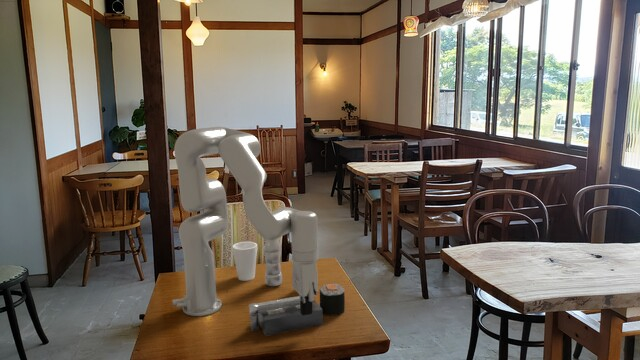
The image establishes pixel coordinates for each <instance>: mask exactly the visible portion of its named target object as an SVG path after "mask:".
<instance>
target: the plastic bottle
mask: <svg viewBox="0 0 640 360" xmlns="http://www.w3.org/2000/svg"><path fill="white" fill-rule="evenodd" d="M263 251H264V252H263V253H264V257H265V258H264V259H265V275H264V281H265V284H266V285H267V286H269V287H277V286H280V285H281V284H282V282H283V273H282V268H281V253H282V245H281V243H280V242H279V240H278V238H277V239H275V240H266V242H265V243H264V245H263Z"/></svg>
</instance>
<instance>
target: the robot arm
mask: <svg viewBox="0 0 640 360" xmlns="http://www.w3.org/2000/svg"><path fill="white" fill-rule="evenodd" d="M261 149H262V147H261V144H260V141H259V140H258V138H257V137H256V136H255V135H253V133H248V132H245V131H241V130H236V129H233V128H230V127H229V128H228V127H223V126H214V127H201V128H195V129H190V130H188V131H185V132H183V133H181V135H179V137H178V138H177V139H176V141H175V143H174V151H173V152H174V158H175V162H176V166H177V174H178V186H179V197H180V203H181V206H182V208H183V210H184V211H185V212H188V213H197V214H195V215H191V216H189V217H187V218H186V219H184V220H183V221H182V222H181V224H180V225H179V228H178V238H179V240H180V243H181V244H180V245H181V247H182V254H183V264H184V266H183V267H184V277H185V278H184V279H185V289H186V290H185V291H186V294H185V293H184V294H185V295H184V296H182V298H176V299H172V306H173V307H174V306H176V308H181V307H182V311H183V314H186V315H188V316H192V317H203V316H207V315H208V316H209V315H212V314H214V313H216V312H218V311H219V310H220V309H221V308H222V305H223V304H222V303H223V302H222V300H221V299H220V298H218V297H217V288H216V287H217V284H216V268H215V255H214V251H213V250H212V248H211V247H210V244H209V243H210V242H211V241H212V240H214V239H217V238H220V237H221V236H222V235H224V234H225V232H226V231H227V230H228V226H229V225H228V224H229V219H228V218H229V217H228V202H227V193H226V189H225V186H224V185H223V184H222V182H221V181H220V180H218V179H216V178H212V177H211V178H210V177H209V178H207V169H206V165H205V163H204V161H203V160H202V159H201V157H207V156H212V155H217V154H219V157H220V158H221V160H222V161H223V163H224V165H225V166H226V167H227V168H228V170H229V172H230V174H231V175H232V177H234V179H235V180H236V182H237V184H238V185H239V186H240V188H241V191H242V202H243V209H244V212H245V214H246V217H247V220H249V222H250V224H251V225H252V227H253V228H254V230H255V231H256V232H257V234H259V236H261V237H262V238H263V239H265V240H266V241H267V240H275V239H277V240H278V239H279V238H281V237H283V236H285V235H288V234H290V235H291V261H292V266H291V267H292V269H291V271H292V277H291V278H292V279H291V281H292V282H291V285H292V287H293V289H294V290H295V291H296V292H297V294H298V296H300V300H302V301H300V313H301V314H302V315H303V316H304V315H309V314H312V301H314V296H317V294H318V292H319V279H318V266H317V261H318V260H319V238H318V237H319V232H318V231H319V230H318V227H319V226H318V225H319V224H318V221H319V220H318V216H317V215H318V214H316V213H315V212H313V211H312V210H311V211H310V210H298V209H296V208H292V207H288V206H283V207H281V208H278V209H276V210H273V211H271V210H270V209H269V207H268V205H267V204H266V202H265V200H264V197H263V186H264V183H266V181H267V177H268V175H267V172H266V171H265V169H264V168H263V166H262V165H261V164H260V162H259V161H258V159H257V158H258V157H259V156H260V154H261V152H262V151H261ZM200 211H203V212H201V213H199V212H200Z"/></svg>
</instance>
